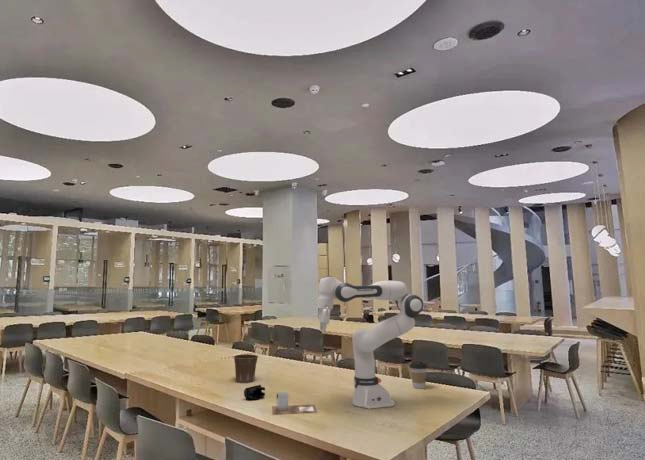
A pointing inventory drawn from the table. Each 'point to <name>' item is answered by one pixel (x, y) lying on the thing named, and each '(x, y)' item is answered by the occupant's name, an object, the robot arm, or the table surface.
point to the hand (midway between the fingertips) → (322, 330)
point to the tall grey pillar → (282, 401)
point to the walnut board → (295, 409)
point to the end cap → (254, 393)
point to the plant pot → (245, 367)
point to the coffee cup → (418, 374)
